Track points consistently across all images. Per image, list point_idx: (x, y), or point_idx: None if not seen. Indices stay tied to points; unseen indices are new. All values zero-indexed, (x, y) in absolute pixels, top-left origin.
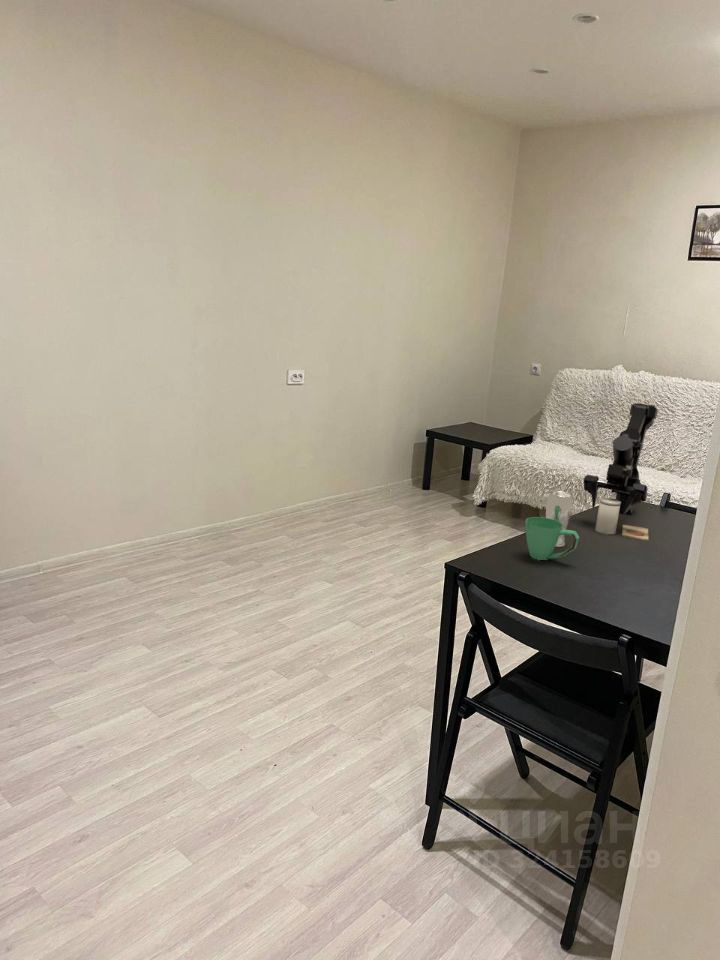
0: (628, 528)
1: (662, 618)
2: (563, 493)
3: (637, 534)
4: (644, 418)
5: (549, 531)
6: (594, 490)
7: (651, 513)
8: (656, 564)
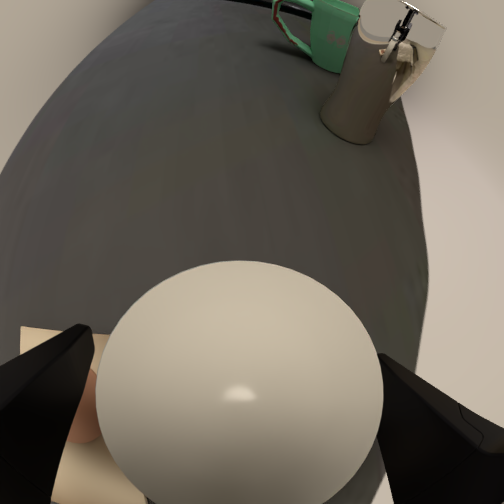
0: (111, 473)
1: (146, 8)
2: (424, 20)
3: None
4: None
5: (325, 1)
6: (492, 441)
7: None
8: (73, 105)
